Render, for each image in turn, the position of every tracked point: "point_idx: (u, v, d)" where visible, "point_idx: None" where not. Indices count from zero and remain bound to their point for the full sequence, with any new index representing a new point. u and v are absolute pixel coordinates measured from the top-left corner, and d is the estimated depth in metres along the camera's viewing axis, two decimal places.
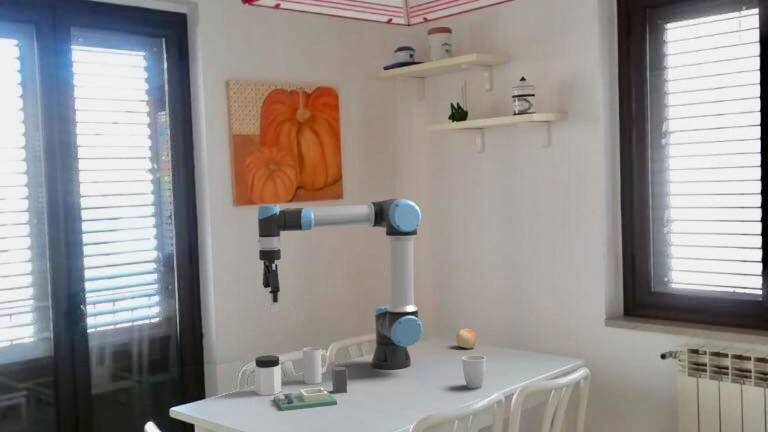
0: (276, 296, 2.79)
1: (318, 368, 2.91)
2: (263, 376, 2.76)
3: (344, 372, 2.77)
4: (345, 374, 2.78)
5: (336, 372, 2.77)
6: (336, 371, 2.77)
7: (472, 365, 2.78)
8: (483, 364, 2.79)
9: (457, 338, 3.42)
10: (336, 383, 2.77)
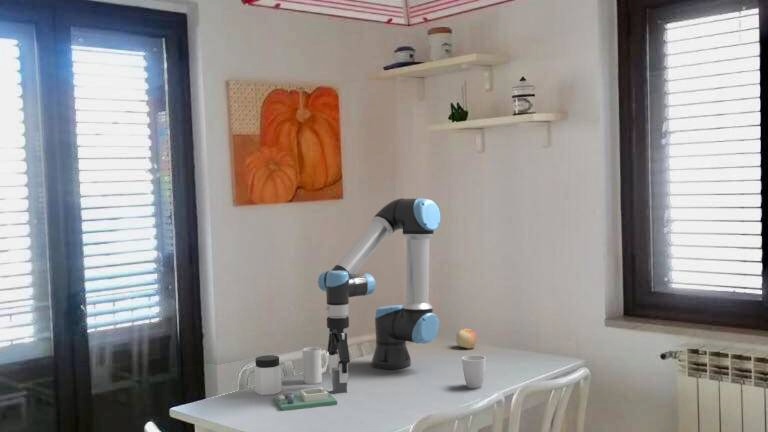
0: (345, 367, 2.71)
1: (318, 368, 2.91)
2: (263, 376, 2.76)
3: None
4: None
5: (336, 372, 2.77)
6: (336, 371, 2.77)
7: (472, 365, 2.78)
8: (483, 364, 2.79)
9: (457, 338, 3.42)
10: (336, 383, 2.77)
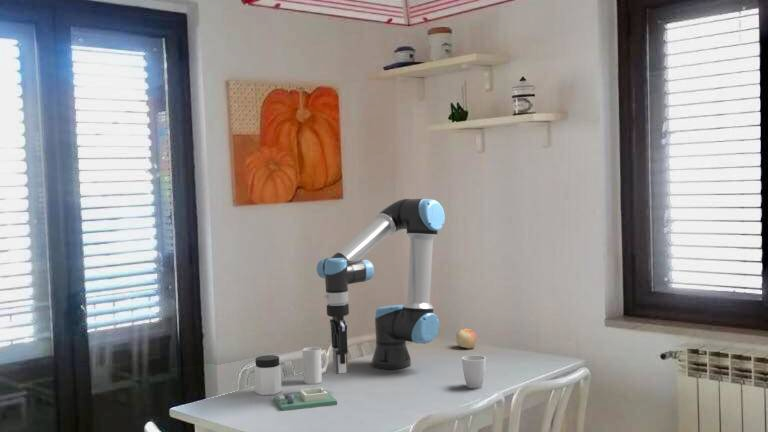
0: (343, 357, 2.75)
1: (318, 368, 2.91)
2: (263, 376, 2.76)
3: None
4: None
5: None
6: (336, 352, 2.76)
7: (472, 365, 2.78)
8: (483, 364, 2.79)
9: (457, 338, 3.42)
10: (337, 364, 2.77)
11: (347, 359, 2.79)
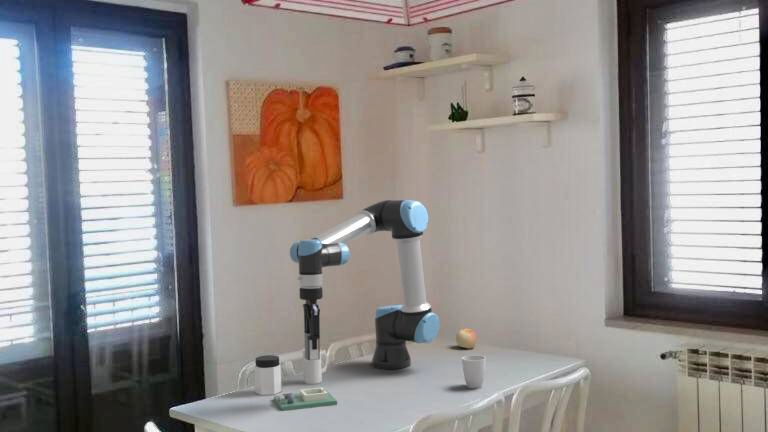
0: (315, 343, 2.64)
1: (318, 368, 2.91)
2: (263, 376, 2.76)
3: None
4: (318, 340, 2.66)
5: None
6: (308, 337, 2.65)
7: (472, 365, 2.78)
8: (483, 364, 2.79)
9: (457, 338, 3.42)
10: (308, 349, 2.65)
11: (319, 345, 2.67)
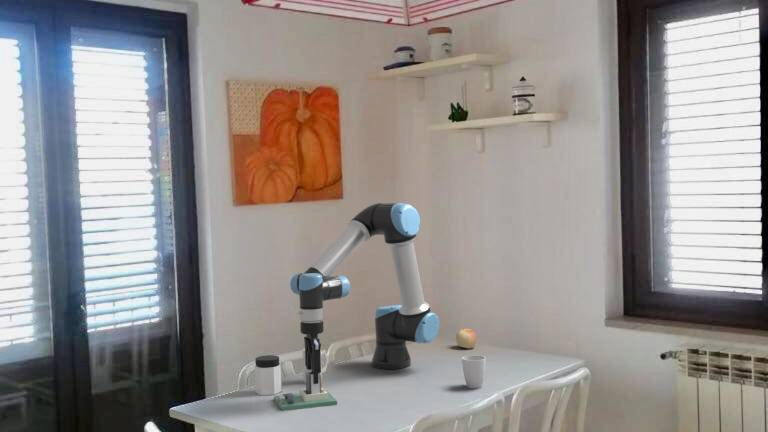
0: (317, 377, 2.64)
1: None
2: (263, 376, 2.76)
3: None
4: None
5: (310, 377, 2.65)
6: (310, 376, 2.65)
7: (472, 365, 2.78)
8: (483, 364, 2.79)
9: (457, 338, 3.42)
10: (310, 388, 2.66)
11: None
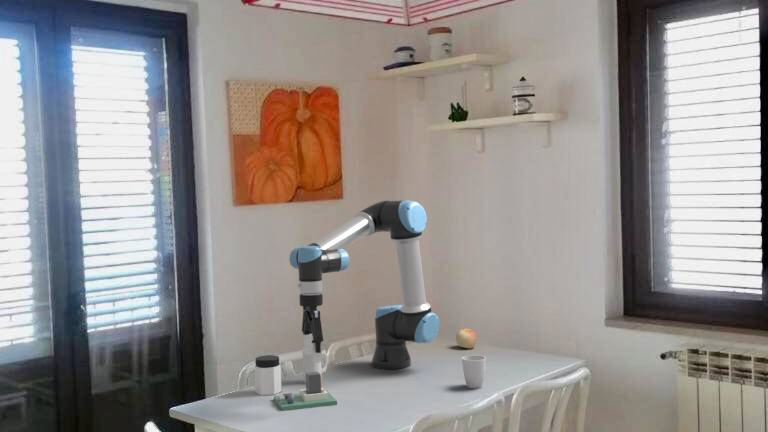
0: (319, 346, 2.60)
1: (318, 368, 2.91)
2: (263, 376, 2.76)
3: (318, 377, 2.66)
4: (319, 379, 2.66)
5: (310, 377, 2.65)
6: (310, 376, 2.65)
7: (472, 365, 2.78)
8: (483, 364, 2.79)
9: (457, 338, 3.42)
10: (310, 388, 2.66)
11: None
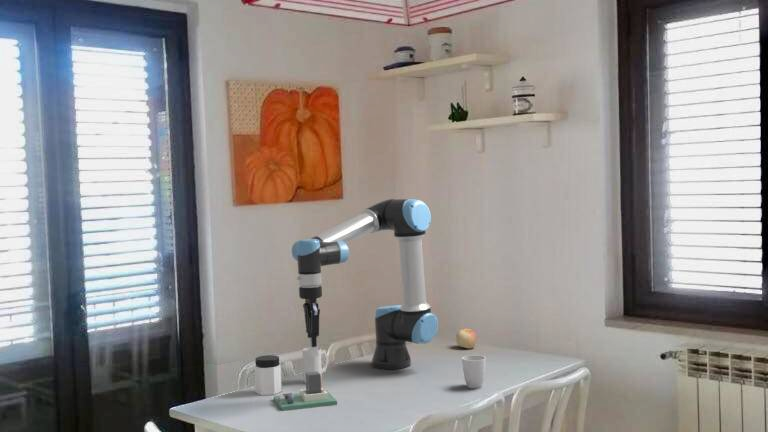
0: (315, 340, 2.70)
1: (318, 368, 2.91)
2: (263, 376, 2.76)
3: (318, 377, 2.66)
4: (319, 379, 2.66)
5: (310, 377, 2.65)
6: (310, 376, 2.65)
7: (472, 365, 2.78)
8: (483, 364, 2.79)
9: (457, 338, 3.42)
10: (310, 388, 2.66)
11: None
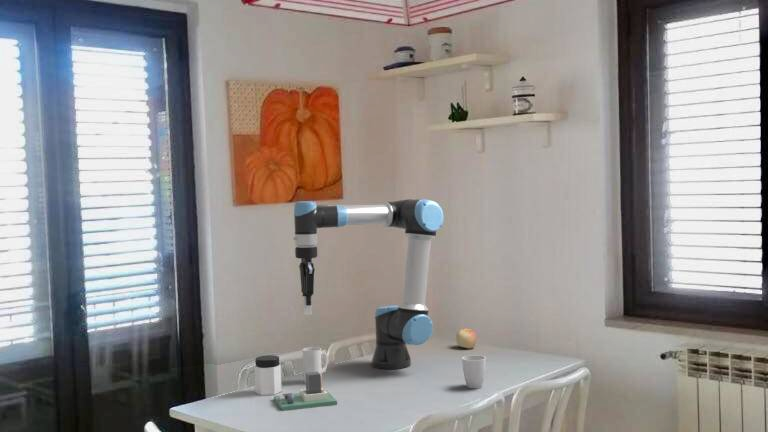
0: (309, 299, 2.79)
1: (318, 368, 2.91)
2: (263, 376, 2.76)
3: (318, 377, 2.66)
4: (319, 379, 2.66)
5: (310, 377, 2.65)
6: (310, 376, 2.65)
7: (472, 365, 2.78)
8: (483, 364, 2.79)
9: (457, 338, 3.42)
10: (310, 388, 2.66)
11: None
